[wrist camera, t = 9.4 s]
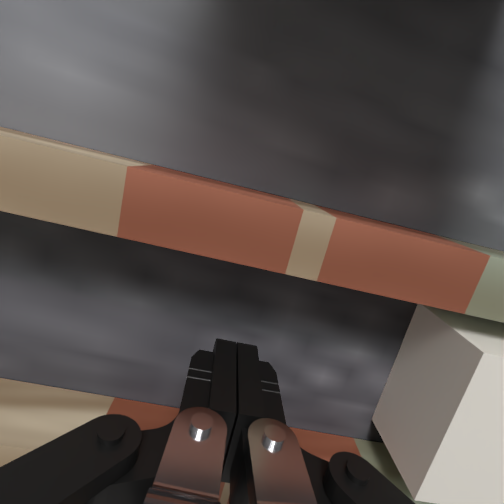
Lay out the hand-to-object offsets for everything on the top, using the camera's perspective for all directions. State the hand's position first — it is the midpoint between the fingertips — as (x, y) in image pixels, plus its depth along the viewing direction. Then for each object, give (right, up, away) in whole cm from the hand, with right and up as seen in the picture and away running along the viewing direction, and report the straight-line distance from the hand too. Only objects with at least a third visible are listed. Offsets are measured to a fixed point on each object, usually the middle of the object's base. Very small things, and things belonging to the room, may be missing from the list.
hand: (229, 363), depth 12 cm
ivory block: (+10, -1, +3) cm, 11 cm away
